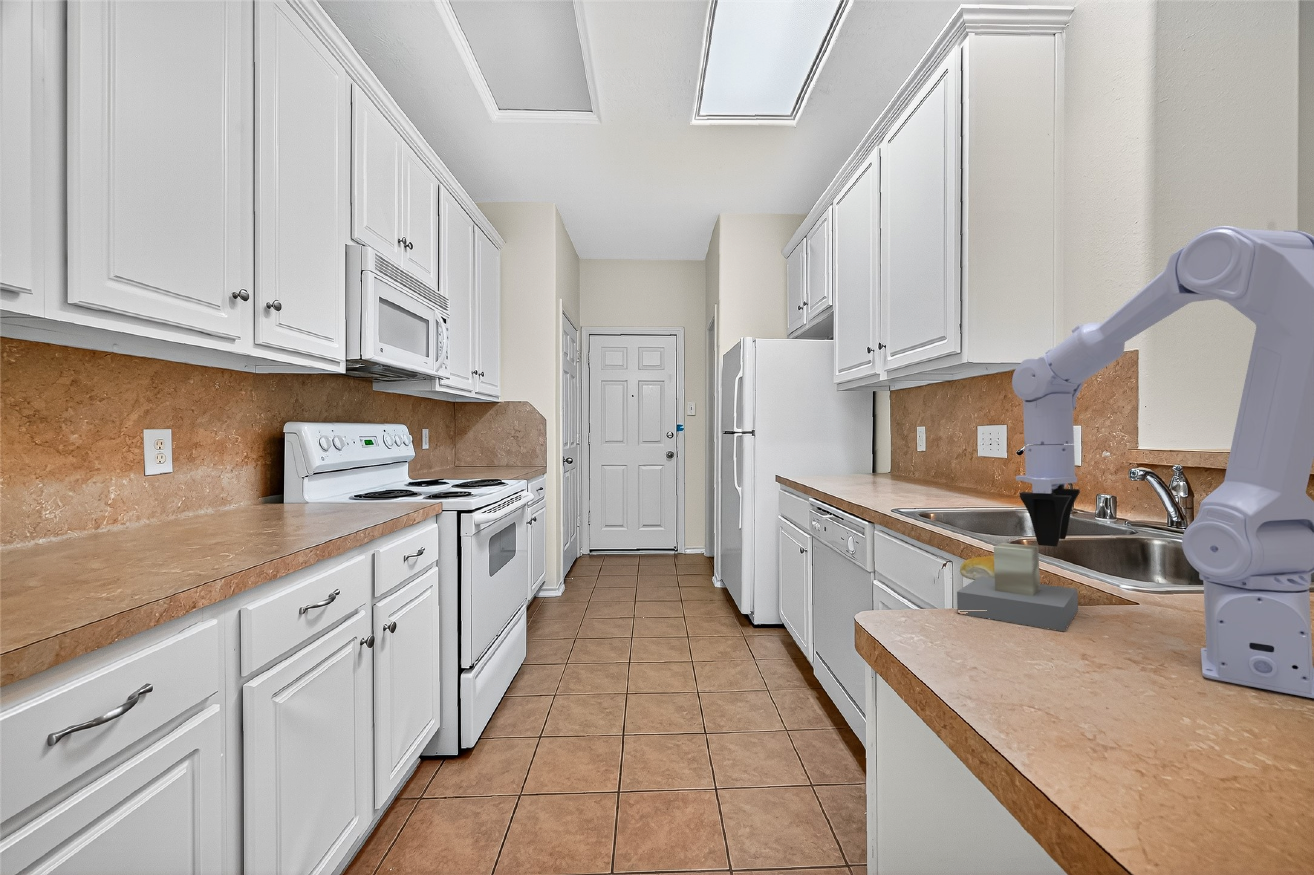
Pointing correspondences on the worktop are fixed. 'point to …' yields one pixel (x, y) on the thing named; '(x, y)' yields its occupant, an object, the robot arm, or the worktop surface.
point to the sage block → (1016, 569)
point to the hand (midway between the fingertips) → (1052, 541)
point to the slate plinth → (1020, 604)
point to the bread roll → (978, 567)
